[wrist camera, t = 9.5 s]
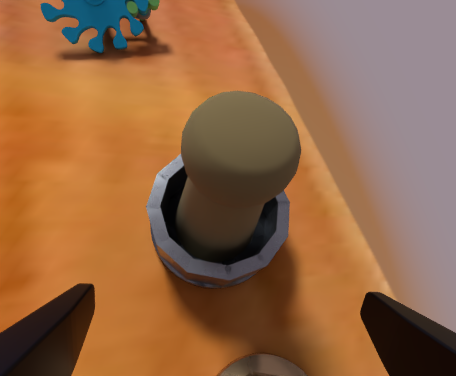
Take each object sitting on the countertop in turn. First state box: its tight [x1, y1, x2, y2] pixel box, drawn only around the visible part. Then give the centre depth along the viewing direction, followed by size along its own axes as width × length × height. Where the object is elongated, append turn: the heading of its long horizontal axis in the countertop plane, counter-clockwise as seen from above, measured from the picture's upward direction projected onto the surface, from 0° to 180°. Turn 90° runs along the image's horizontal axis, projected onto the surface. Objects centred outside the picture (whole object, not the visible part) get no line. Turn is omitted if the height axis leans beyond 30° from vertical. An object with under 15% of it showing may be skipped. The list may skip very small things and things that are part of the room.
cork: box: [175, 91, 301, 262], centre depth 15 cm, size 6×6×11 cm
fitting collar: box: [146, 154, 290, 289], centre depth 19 cm, size 10×10×4 cm
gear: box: [41, 0, 159, 53], centre depth 27 cm, size 11×6×10 cm
